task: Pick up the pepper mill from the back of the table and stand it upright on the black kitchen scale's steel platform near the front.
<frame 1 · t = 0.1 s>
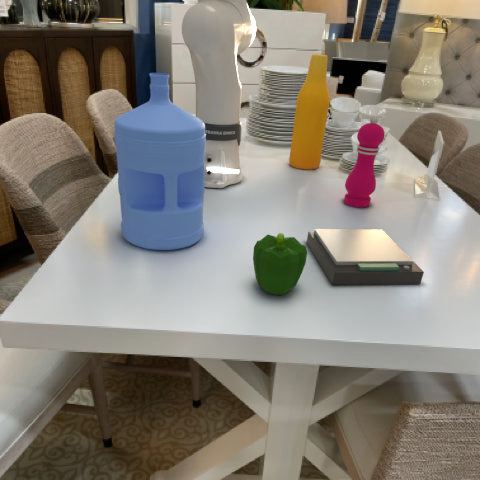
beer bottle: (303, 166, 141), on the table
pepper mill: (356, 204, 116), on the table
scale: (359, 262, 88), on the table
bell pepper: (274, 288, 77), on the table
water jug: (163, 235, 92), on the table
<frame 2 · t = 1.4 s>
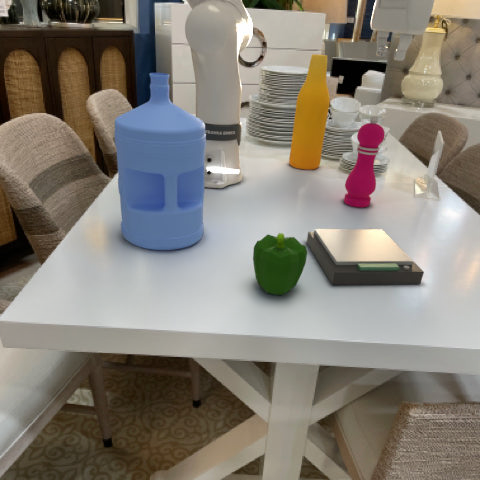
hand: (389, 58, 98), 31 cm above the table, tool pointing down, fingers open, 8 cm apart
nothing on the table moved.
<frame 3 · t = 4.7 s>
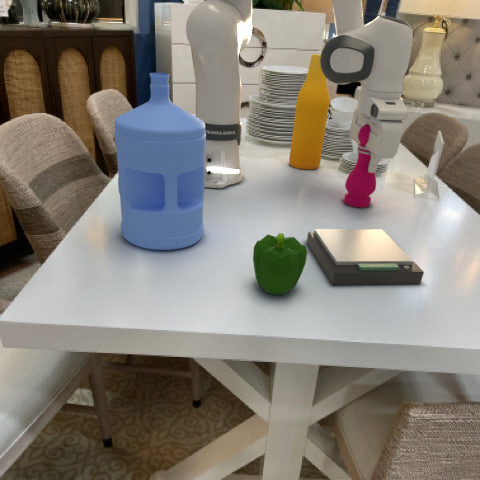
hand: (366, 168, 111), 9 cm above the table, tool pointing down, fingers closed on pepper mill, 5 cm apart
pepper mill: (356, 203, 116), on the table, touching arm, gripper
everything else where it was.
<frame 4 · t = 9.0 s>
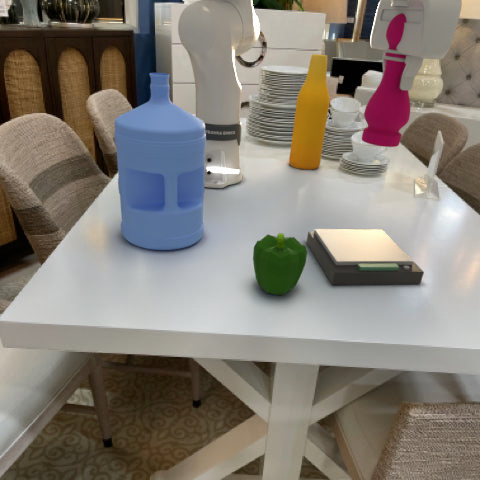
hand: (395, 86, 75), 29 cm above the table, tool pointing down, fingers closed on pepper mill, 5 cm apart
pepper mill: (379, 143, 79), point 20 cm above the table, touching arm, gripper
everything else where it was.
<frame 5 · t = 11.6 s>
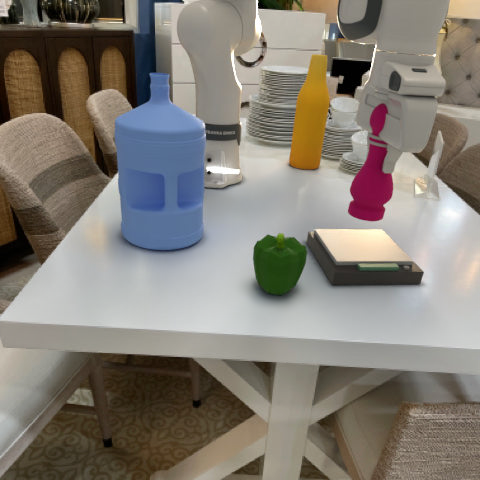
hand: (379, 166, 79), 17 cm above the table, tool pointing down, fingers closed on pepper mill, 5 cm apart
pepper mill: (364, 216, 84), point 9 cm above the table, touching arm, gripper
everything else where it was.
when the fingers open (12 cm above the table, at t = 13.3 s): pepper mill stays where it is, resting on scale.
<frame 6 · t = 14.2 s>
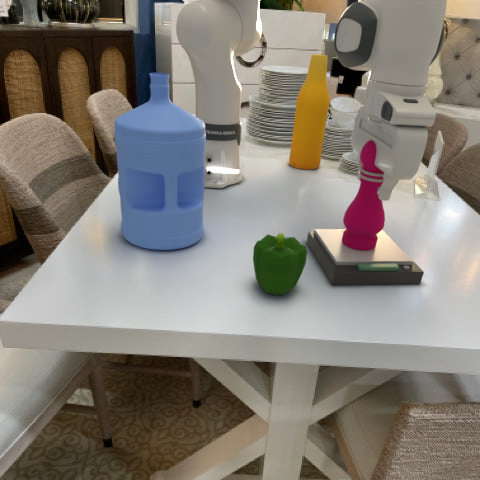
hand: (372, 189, 81), 13 cm above the table, tool pointing down, fingers open, 8 cm apart
pepper mill: (358, 244, 87), point 3 cm above the table, touching scale
everything else where it was.
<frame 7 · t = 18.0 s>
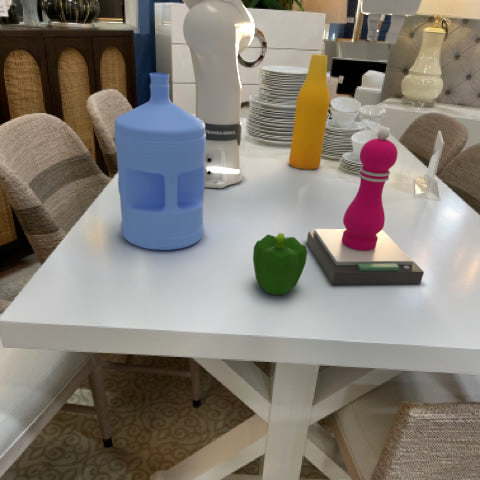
hand: (380, 42, 95), 34 cm above the table, tool pointing down, fingers open, 8 cm apart
nothing on the table moved.
at the end: pepper mill inside the target area on the scale (0.5 cm from its centre), point 3.0 cm above the scale's base; pepper mill tilted 0°; the gripper is holding nothing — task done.
